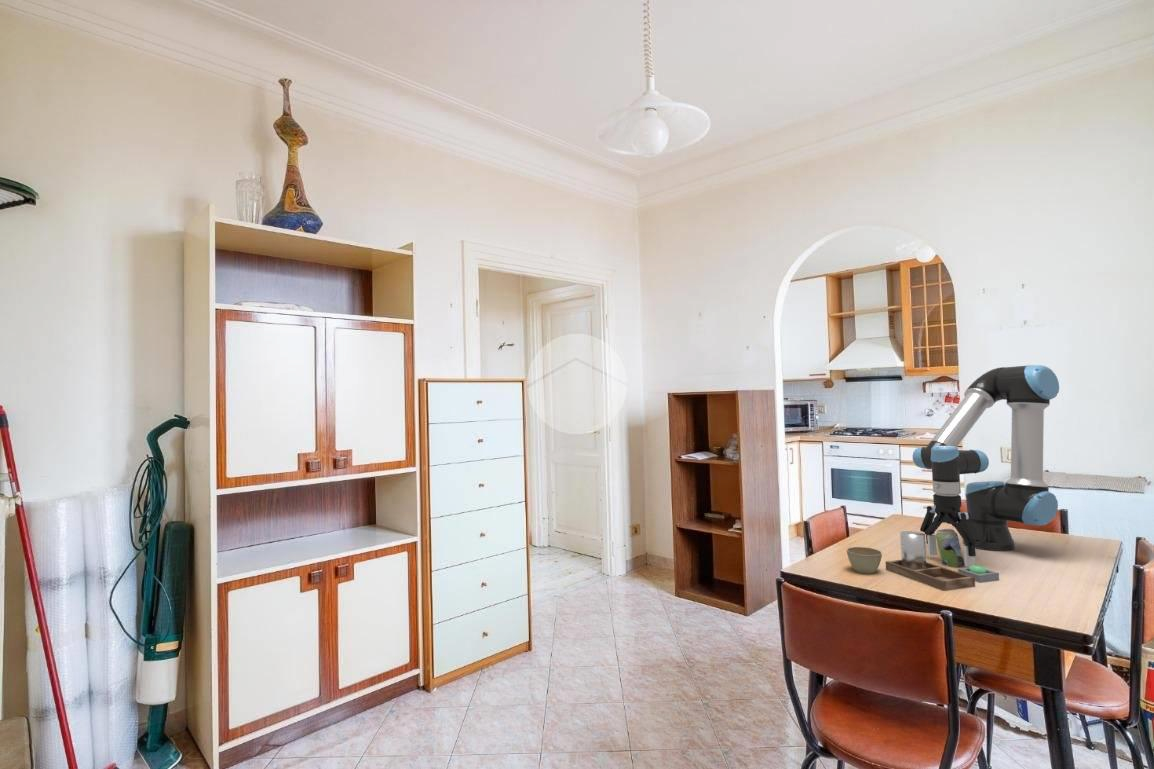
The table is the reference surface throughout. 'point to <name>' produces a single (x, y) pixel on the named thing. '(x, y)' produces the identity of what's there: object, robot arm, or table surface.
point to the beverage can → (949, 548)
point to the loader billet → (913, 550)
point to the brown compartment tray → (933, 576)
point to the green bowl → (864, 559)
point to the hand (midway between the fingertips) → (950, 560)
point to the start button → (978, 569)
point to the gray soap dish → (981, 575)
